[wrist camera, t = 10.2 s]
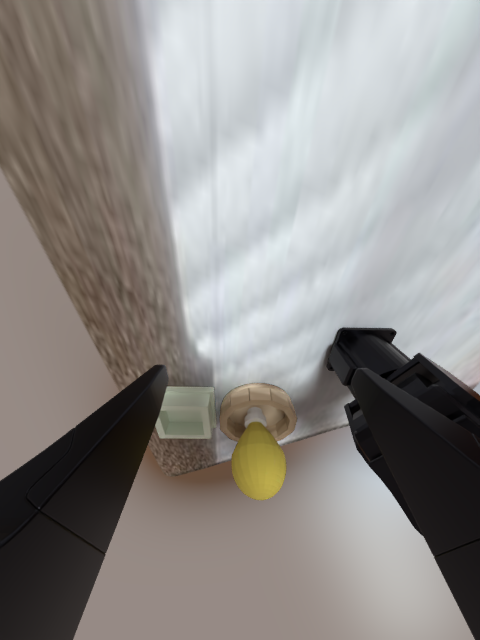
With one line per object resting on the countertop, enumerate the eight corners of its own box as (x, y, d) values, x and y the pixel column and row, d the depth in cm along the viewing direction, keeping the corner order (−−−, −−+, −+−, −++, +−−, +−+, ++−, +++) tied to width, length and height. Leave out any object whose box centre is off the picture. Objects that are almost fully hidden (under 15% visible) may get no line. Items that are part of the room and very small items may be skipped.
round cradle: (297, 383, 26) (302, 400, 24) (285, 427, 32) (289, 444, 29) (220, 382, 26) (218, 399, 24) (222, 426, 32) (221, 444, 29)
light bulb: (282, 417, 29) (300, 504, 20) (244, 428, 31) (245, 512, 22) (266, 392, 26) (280, 480, 17) (225, 405, 28) (218, 492, 19)
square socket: (213, 387, 27) (211, 404, 24) (216, 423, 31) (214, 440, 29) (152, 386, 27) (143, 403, 24) (163, 422, 31) (157, 439, 29)
